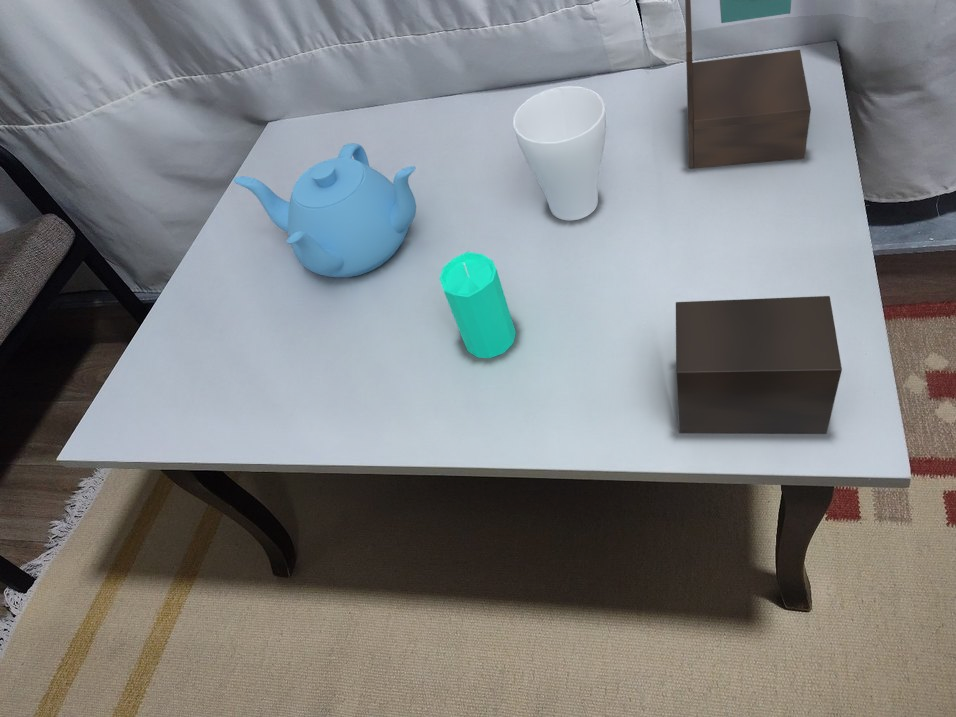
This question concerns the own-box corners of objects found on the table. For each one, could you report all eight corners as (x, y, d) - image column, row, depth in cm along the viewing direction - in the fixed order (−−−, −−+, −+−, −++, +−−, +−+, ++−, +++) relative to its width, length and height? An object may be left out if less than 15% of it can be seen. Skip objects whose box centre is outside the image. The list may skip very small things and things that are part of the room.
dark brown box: (816, 363, 73) (829, 295, 66) (826, 434, 69) (842, 369, 61) (678, 366, 77) (675, 301, 69) (679, 433, 72) (676, 372, 65)
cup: (530, 237, 93) (508, 149, 83) (535, 181, 100) (515, 92, 89) (616, 229, 91) (605, 137, 80) (616, 172, 97) (605, 79, 87)
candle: (464, 321, 87) (435, 247, 78) (514, 313, 86) (492, 237, 77) (464, 362, 84) (434, 289, 75) (517, 354, 83) (493, 279, 74)
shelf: (794, 98, 98) (808, -24, 85) (804, 158, 91) (820, 35, 78) (687, 110, 101) (685, -6, 89) (688, 168, 94) (686, 52, 82)
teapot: (331, 316, 93) (289, 245, 84) (272, 244, 104) (229, 174, 95) (444, 241, 97) (416, 165, 87) (375, 179, 108) (343, 106, 98)
